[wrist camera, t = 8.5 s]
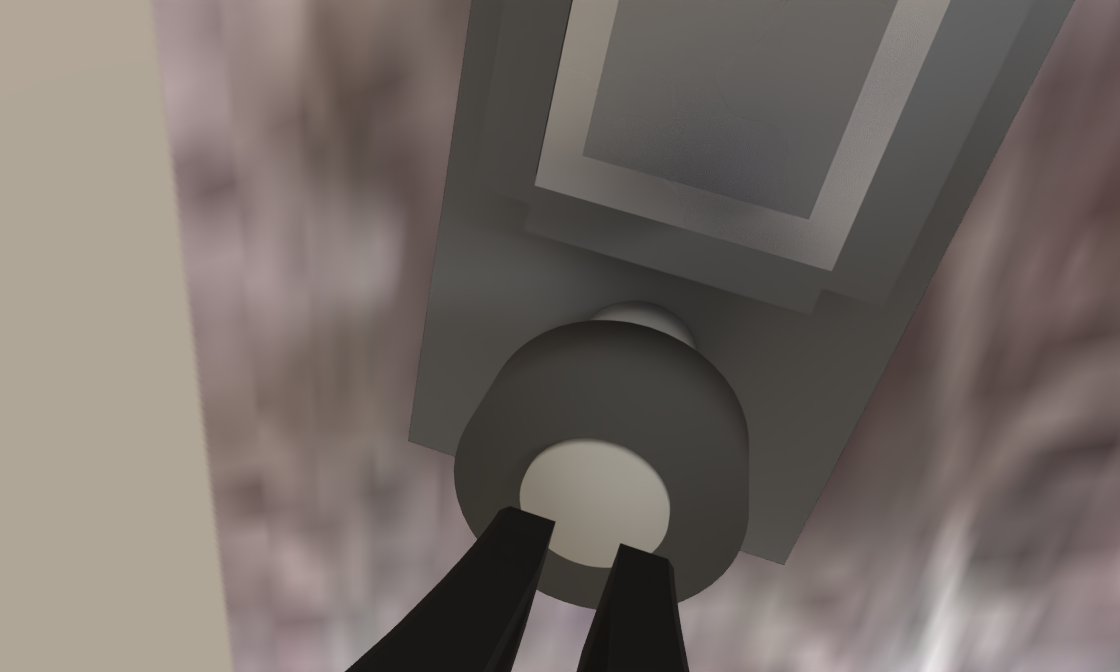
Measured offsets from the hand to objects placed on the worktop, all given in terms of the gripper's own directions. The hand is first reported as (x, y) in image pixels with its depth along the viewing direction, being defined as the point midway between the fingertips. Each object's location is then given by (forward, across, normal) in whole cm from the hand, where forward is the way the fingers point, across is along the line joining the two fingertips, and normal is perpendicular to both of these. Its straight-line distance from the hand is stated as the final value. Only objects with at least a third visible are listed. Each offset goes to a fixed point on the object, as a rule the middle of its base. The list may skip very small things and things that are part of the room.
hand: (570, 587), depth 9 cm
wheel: (+3, 0, 0) cm, 3 cm away
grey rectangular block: (+6, 0, -7) cm, 9 cm away
